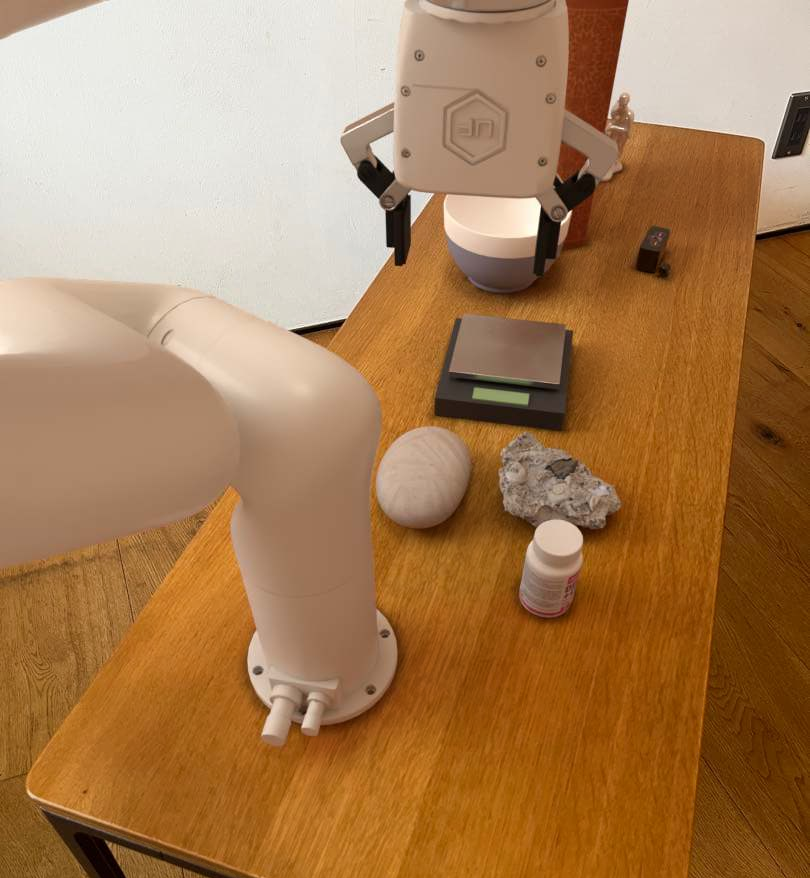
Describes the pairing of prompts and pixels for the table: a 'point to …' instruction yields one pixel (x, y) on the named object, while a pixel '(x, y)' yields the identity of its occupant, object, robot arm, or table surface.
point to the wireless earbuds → (654, 251)
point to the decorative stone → (423, 477)
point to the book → (589, 86)
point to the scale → (503, 395)
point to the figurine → (619, 130)
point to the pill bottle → (551, 568)
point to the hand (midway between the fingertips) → (470, 261)
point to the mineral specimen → (552, 486)
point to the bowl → (496, 240)
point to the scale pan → (509, 351)
